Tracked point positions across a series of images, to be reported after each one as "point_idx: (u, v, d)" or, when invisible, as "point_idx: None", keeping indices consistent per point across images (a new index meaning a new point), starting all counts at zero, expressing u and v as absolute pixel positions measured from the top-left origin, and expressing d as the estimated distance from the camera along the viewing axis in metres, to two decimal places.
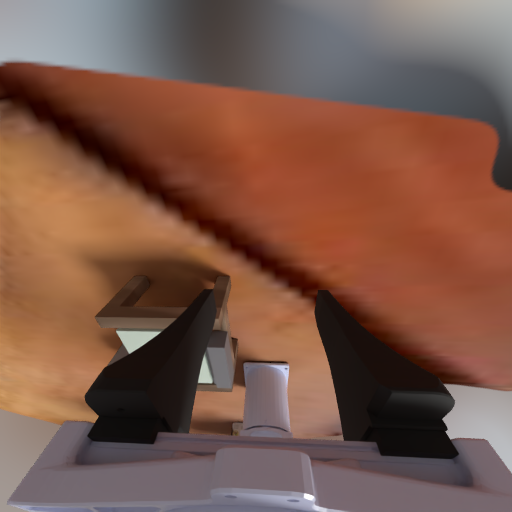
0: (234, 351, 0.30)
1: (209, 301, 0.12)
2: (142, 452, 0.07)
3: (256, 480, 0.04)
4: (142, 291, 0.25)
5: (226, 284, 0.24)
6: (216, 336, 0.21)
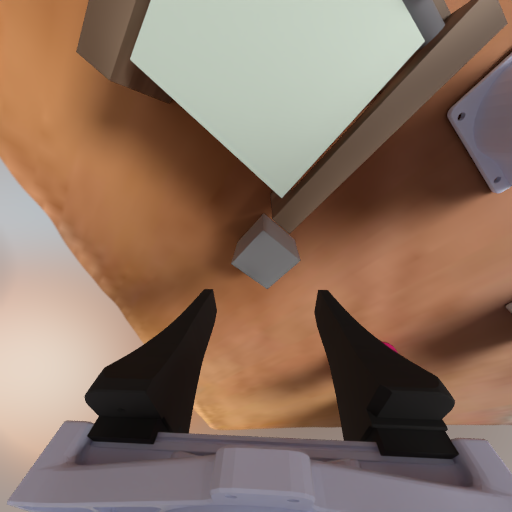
0: None
1: (209, 301, 0.12)
2: (142, 452, 0.07)
3: (256, 480, 0.04)
4: None
5: None
6: None
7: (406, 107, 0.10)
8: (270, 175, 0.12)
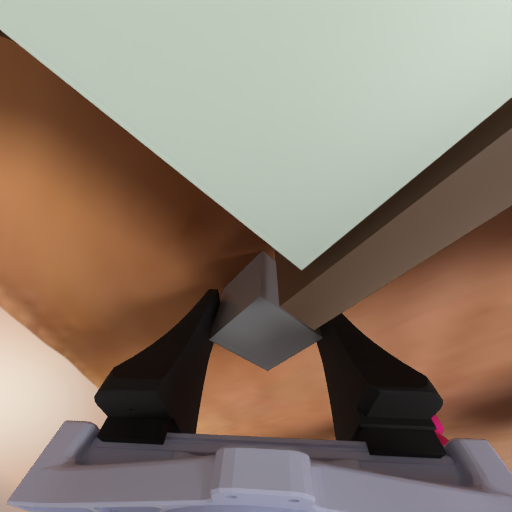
0: None
1: (214, 301, 0.12)
2: (142, 452, 0.07)
3: (256, 480, 0.04)
4: None
5: None
6: None
7: None
8: (276, 224, 0.05)
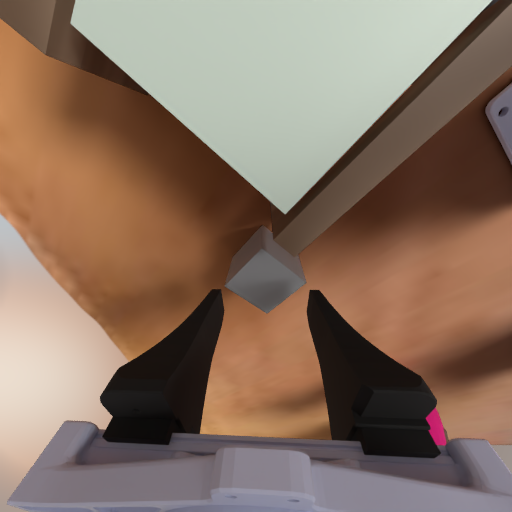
0: None
1: (217, 301, 0.12)
2: (142, 452, 0.07)
3: (256, 480, 0.04)
4: None
5: None
6: None
7: (460, 94, 0.07)
8: (270, 185, 0.09)
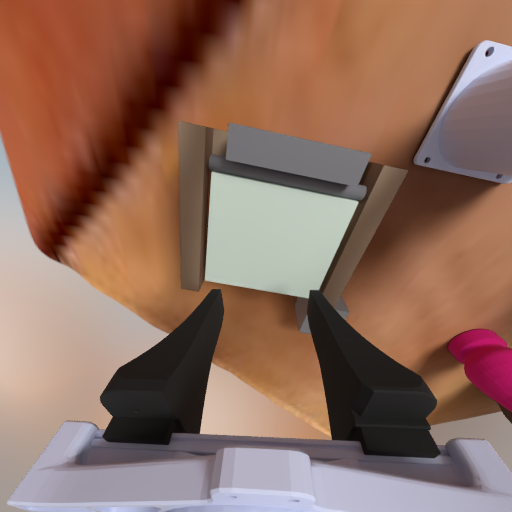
0: None
1: (217, 301, 0.12)
2: (142, 452, 0.07)
3: (256, 480, 0.04)
4: None
5: None
6: None
7: (369, 229, 0.14)
8: (300, 292, 0.17)
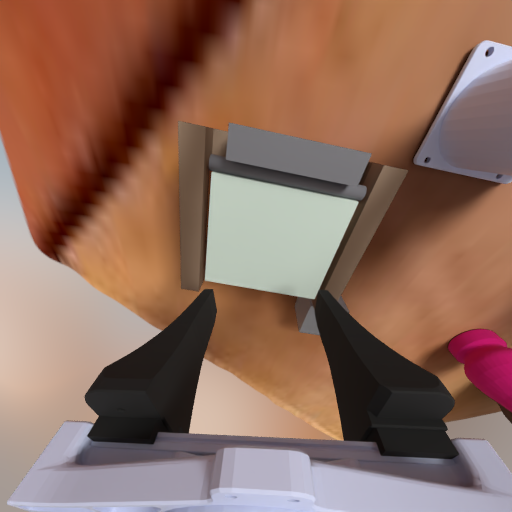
0: None
1: (209, 301, 0.12)
2: (142, 452, 0.07)
3: (256, 480, 0.04)
4: None
5: None
6: None
7: (369, 229, 0.14)
8: (300, 292, 0.17)
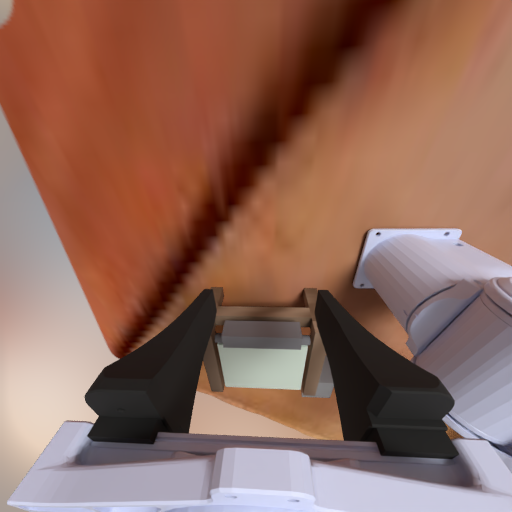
0: (306, 300, 0.24)
1: (209, 301, 0.12)
2: (142, 452, 0.07)
3: (256, 480, 0.04)
4: None
5: None
6: None
7: (320, 357, 0.22)
8: (289, 387, 0.26)
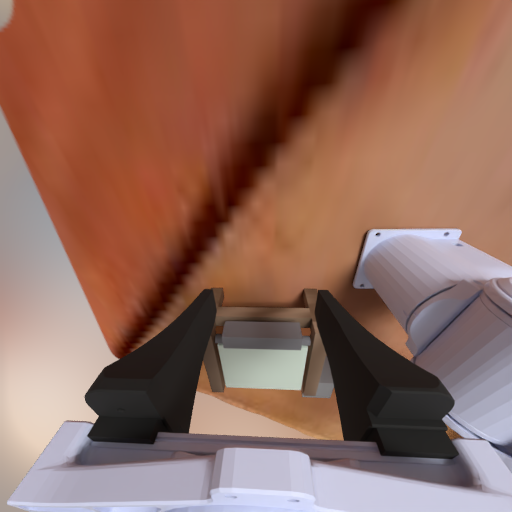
0: (306, 301, 0.24)
1: (209, 301, 0.12)
2: (142, 452, 0.07)
3: (256, 480, 0.04)
4: None
5: None
6: None
7: (320, 357, 0.22)
8: (290, 387, 0.26)
